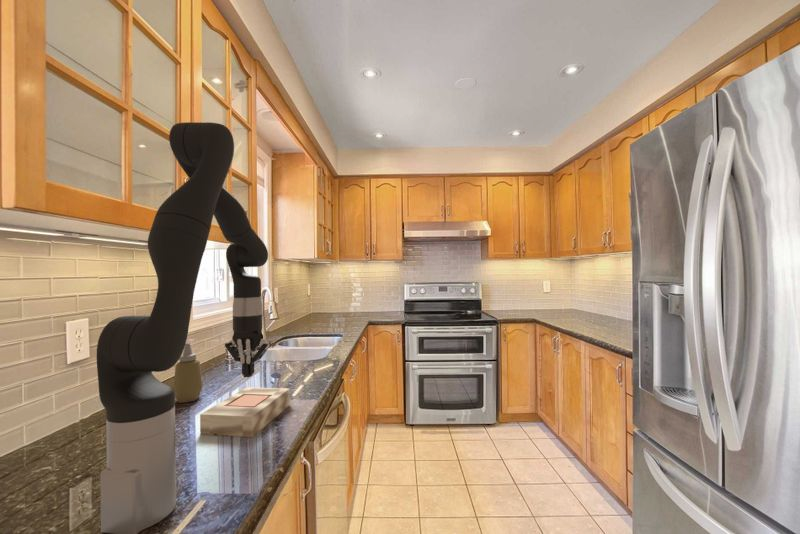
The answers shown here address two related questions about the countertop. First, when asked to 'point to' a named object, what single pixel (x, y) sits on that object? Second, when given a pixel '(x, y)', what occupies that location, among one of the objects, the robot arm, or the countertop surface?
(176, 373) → the squeeze bottle
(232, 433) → the button housing
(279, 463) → the countertop surface
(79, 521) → the countertop surface
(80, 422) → the countertop surface
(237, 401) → the button
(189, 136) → the robot arm
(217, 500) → the countertop surface
